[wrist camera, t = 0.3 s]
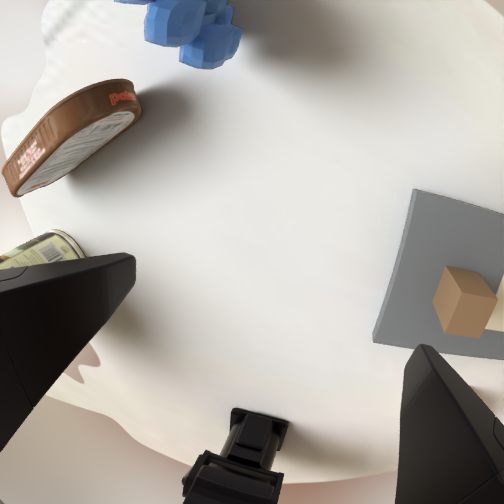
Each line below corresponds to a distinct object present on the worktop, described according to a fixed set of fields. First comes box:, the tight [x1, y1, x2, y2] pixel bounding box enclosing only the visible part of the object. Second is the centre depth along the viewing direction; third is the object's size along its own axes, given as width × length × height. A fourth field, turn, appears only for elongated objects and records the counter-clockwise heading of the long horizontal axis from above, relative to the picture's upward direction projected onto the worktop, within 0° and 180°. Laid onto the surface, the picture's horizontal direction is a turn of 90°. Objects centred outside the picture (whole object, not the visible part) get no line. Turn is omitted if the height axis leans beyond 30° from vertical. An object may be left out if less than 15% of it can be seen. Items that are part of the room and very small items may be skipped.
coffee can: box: [0, 230, 86, 269], centre depth 25 cm, size 10×10×14 cm
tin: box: [2, 79, 142, 197], centre depth 20 cm, size 15×3×8 cm, turn 114°
